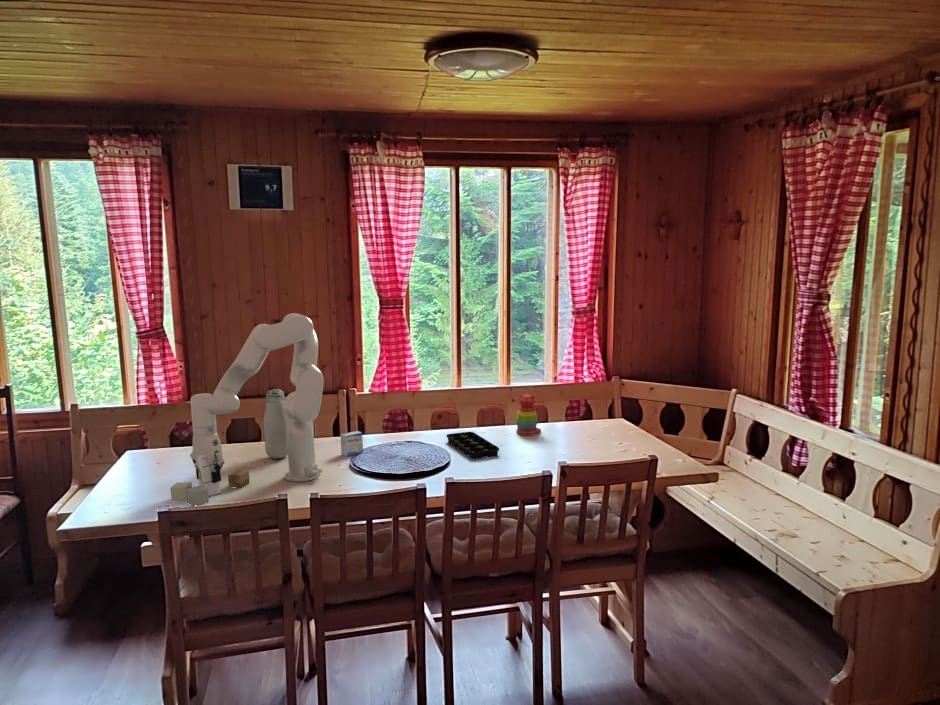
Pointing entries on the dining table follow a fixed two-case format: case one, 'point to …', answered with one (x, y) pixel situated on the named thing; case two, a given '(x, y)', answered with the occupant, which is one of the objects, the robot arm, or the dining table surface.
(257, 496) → the dining table surface
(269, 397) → the glass bottle
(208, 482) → the syrup box
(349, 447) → the medicine box
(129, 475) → the dining table surface
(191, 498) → the slate grey cube
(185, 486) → the sage green cube
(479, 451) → the egg carton
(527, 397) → the stacking bear
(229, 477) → the walnut cube
